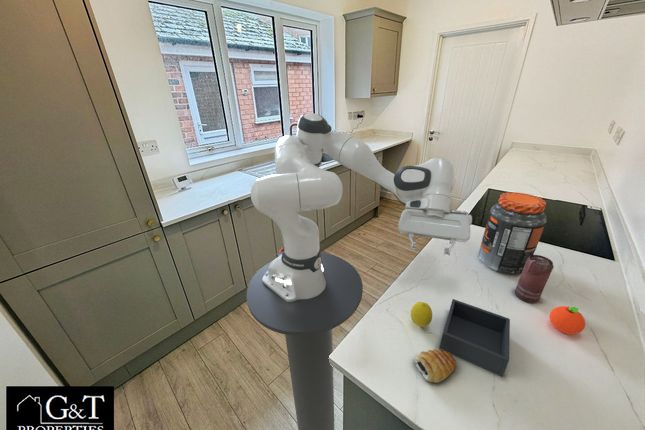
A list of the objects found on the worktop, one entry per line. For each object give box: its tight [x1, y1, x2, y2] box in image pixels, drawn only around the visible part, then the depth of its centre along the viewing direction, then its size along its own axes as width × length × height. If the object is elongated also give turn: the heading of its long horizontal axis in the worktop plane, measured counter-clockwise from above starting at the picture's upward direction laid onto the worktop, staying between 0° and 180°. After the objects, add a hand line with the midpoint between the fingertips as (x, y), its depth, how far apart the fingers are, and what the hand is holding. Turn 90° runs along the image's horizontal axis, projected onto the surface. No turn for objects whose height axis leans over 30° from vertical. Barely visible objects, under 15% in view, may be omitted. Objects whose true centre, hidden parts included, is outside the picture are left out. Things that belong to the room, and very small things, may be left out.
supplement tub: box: [478, 191, 548, 275], centre depth 91 cm, size 16×16×26 cm
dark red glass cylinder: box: [514, 254, 554, 304], centre depth 78 cm, size 6×6×14 cm
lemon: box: [410, 301, 433, 328], centre depth 71 cm, size 6×6×8 cm
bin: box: [438, 298, 511, 377], centre depth 67 cm, size 14×14×6 cm
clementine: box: [549, 305, 586, 335], centre depth 69 cm, size 8×7×7 cm
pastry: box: [413, 348, 457, 383], centre depth 61 cm, size 9×7×4 cm
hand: (429, 251), depth 78 cm, fingers open, 8 cm apart
